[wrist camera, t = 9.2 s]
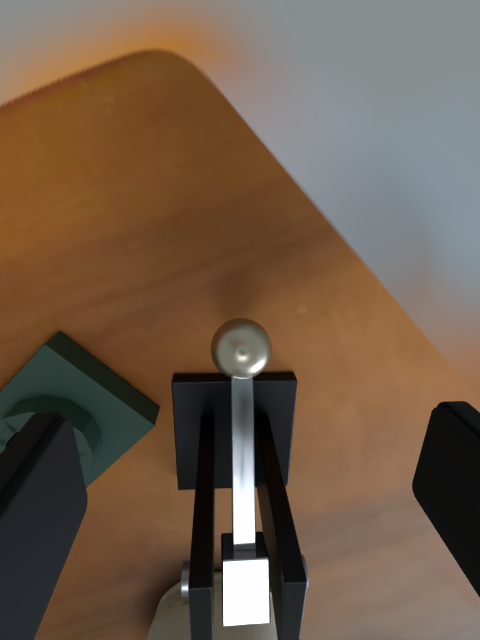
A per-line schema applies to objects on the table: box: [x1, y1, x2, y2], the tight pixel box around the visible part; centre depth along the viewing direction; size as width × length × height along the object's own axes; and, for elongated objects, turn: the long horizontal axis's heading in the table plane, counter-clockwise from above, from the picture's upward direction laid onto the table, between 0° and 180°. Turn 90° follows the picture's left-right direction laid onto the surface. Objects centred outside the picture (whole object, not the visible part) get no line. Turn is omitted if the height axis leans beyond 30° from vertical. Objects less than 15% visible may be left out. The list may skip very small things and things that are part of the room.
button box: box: [0, 331, 160, 488], centre depth 23 cm, size 11×9×4 cm
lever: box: [211, 318, 272, 627], centre depth 17 cm, size 14×3×3 cm, turn 179°
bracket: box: [172, 372, 308, 640], centre depth 21 cm, size 10×9×13 cm
